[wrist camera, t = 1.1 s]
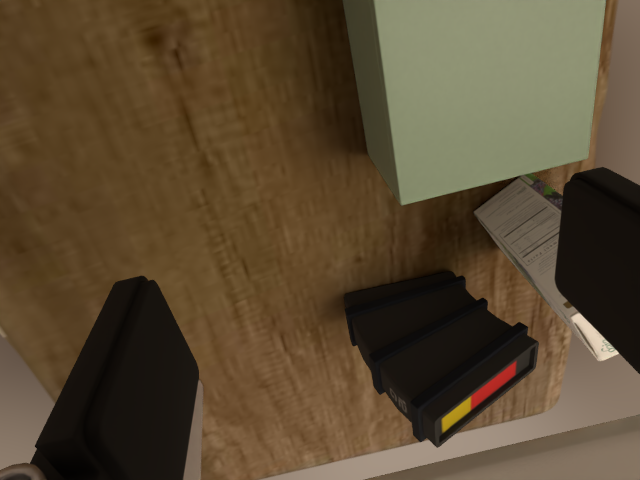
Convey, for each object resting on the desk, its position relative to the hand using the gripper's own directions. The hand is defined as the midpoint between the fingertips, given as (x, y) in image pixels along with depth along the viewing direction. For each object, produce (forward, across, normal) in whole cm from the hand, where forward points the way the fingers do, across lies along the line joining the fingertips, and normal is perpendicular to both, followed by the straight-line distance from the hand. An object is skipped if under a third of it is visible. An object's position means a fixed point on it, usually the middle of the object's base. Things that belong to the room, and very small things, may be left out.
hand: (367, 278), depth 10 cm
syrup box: (+25, -16, +15) cm, 33 cm away
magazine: (+25, -7, +21) cm, 33 cm away
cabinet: (+24, -10, -1) cm, 27 cm away
